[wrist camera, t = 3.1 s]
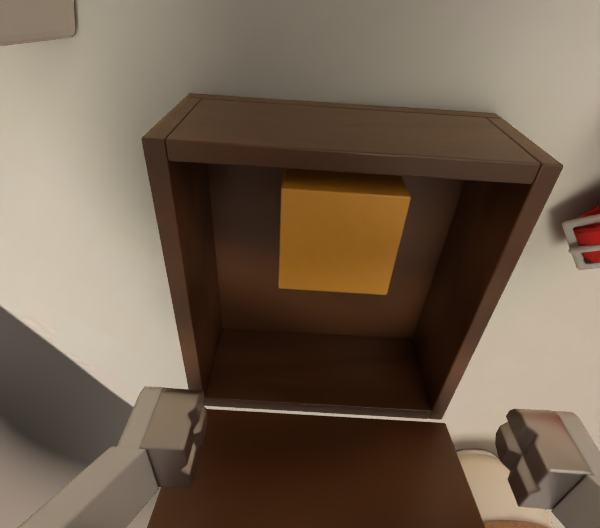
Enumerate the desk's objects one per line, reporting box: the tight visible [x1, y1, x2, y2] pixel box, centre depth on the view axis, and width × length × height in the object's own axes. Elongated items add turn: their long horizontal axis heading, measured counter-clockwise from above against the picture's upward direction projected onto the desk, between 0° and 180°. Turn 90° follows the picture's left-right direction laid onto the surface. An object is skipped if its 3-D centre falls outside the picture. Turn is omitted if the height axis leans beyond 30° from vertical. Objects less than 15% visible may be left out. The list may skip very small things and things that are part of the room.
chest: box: [142, 94, 563, 419], centre depth 21 cm, size 16×15×6 cm
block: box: [278, 168, 411, 295], centre depth 18 cm, size 5×5×5 cm
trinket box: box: [456, 450, 554, 528], centre depth 34 cm, size 11×11×9 cm
